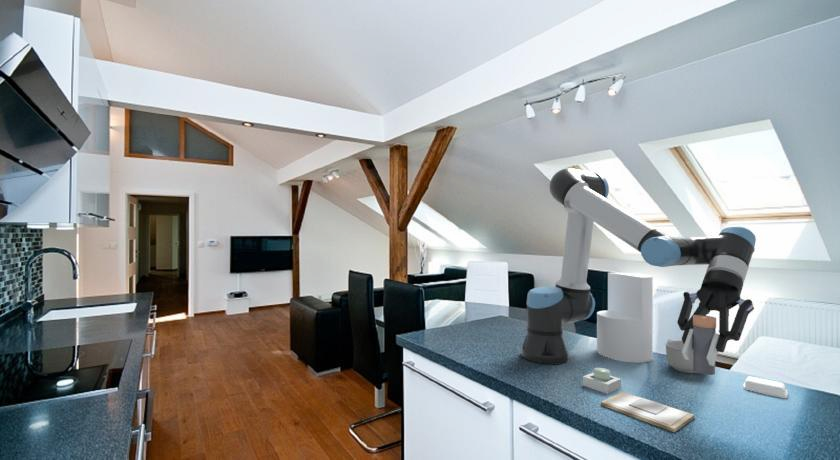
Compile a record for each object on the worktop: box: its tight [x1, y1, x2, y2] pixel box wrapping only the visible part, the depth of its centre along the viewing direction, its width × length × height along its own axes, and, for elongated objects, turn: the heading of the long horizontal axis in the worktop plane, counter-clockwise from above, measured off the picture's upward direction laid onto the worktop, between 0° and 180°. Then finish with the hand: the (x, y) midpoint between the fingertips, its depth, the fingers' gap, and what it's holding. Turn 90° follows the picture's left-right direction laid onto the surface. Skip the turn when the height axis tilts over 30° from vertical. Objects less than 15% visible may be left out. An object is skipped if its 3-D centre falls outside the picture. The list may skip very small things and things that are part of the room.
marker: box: [692, 314, 717, 376], centre depth 86 cm, size 4×4×12 cm
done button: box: [593, 367, 611, 382], centre depth 105 cm, size 4×4×3 cm
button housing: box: [582, 371, 622, 395], centre depth 105 cm, size 7×7×2 cm
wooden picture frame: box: [600, 391, 695, 433], centre depth 91 cm, size 16×11×1 cm
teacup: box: [664, 338, 698, 374], centre depth 121 cm, size 14×11×8 cm
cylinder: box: [596, 272, 654, 364], centre depth 135 cm, size 17×17×28 cm
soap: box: [742, 375, 789, 399], centre depth 104 cm, size 9×7×3 cm
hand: (697, 358), depth 83 cm, fingers closed on marker, 4 cm apart
